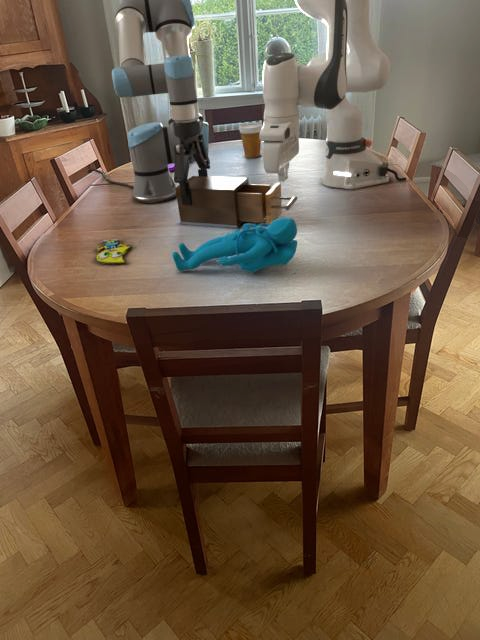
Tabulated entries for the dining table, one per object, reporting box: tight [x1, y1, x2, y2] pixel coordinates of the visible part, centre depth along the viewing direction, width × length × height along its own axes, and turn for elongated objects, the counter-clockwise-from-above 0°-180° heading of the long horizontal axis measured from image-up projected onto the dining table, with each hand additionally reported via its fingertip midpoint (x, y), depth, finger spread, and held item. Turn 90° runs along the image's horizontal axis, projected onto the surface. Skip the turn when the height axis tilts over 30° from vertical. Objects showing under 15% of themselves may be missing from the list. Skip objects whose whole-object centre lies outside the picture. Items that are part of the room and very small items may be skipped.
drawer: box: [235, 182, 298, 225], centre depth 137 cm, size 22×10×9 cm, turn 68°
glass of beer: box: [239, 123, 263, 159], centre depth 199 cm, size 10×10×12 cm
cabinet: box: [175, 175, 250, 229], centre depth 141 cm, size 18×11×11 cm, turn 68°
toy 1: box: [95, 238, 133, 265], centre depth 129 cm, size 10×1×15 cm
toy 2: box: [171, 217, 298, 274], centre depth 113 cm, size 17×11×30 cm
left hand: (196, 197), depth 143 cm, fingers closed on cabinet, 11 cm apart
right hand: (283, 180), depth 130 cm, fingers closed
